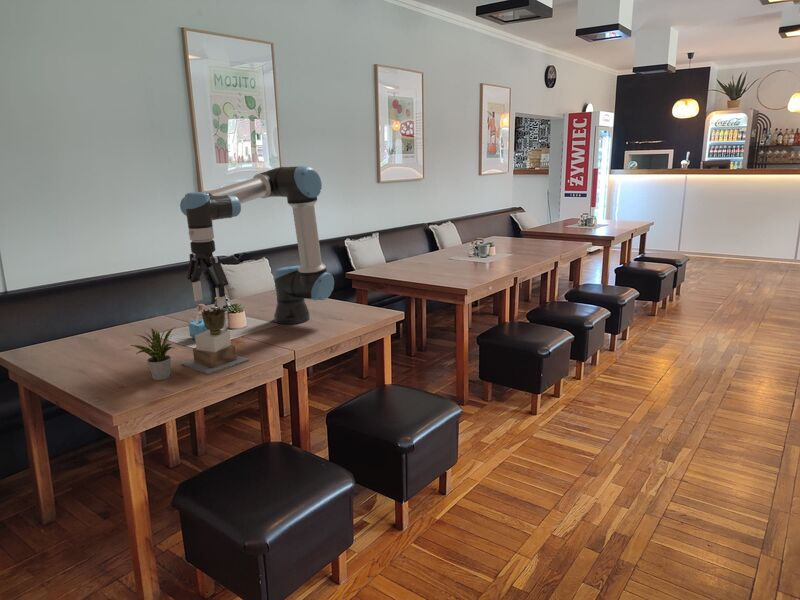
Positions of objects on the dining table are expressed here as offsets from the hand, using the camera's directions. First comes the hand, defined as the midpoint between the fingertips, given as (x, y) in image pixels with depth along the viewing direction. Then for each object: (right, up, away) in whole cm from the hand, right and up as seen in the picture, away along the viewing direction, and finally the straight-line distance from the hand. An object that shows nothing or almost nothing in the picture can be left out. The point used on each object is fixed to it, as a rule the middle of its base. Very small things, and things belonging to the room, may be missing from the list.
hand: (210, 303), depth 189 cm
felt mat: (0, -21, +5) cm, 21 cm away
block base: (0, -20, +5) cm, 20 cm away
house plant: (-14, -24, -5) cm, 28 cm away
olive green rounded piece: (+1, -11, +1) cm, 11 cm away
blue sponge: (-15, -14, +33) cm, 39 cm away
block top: (0, -15, +3) cm, 15 cm away
